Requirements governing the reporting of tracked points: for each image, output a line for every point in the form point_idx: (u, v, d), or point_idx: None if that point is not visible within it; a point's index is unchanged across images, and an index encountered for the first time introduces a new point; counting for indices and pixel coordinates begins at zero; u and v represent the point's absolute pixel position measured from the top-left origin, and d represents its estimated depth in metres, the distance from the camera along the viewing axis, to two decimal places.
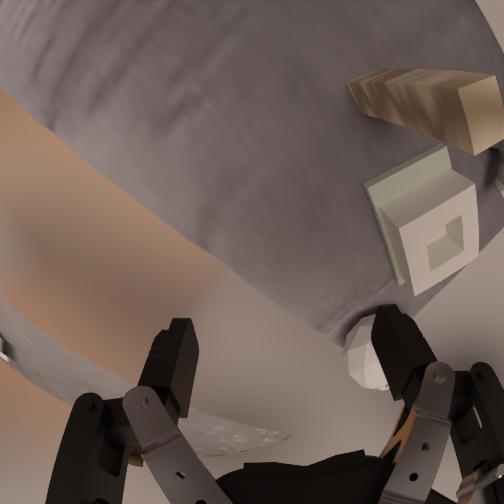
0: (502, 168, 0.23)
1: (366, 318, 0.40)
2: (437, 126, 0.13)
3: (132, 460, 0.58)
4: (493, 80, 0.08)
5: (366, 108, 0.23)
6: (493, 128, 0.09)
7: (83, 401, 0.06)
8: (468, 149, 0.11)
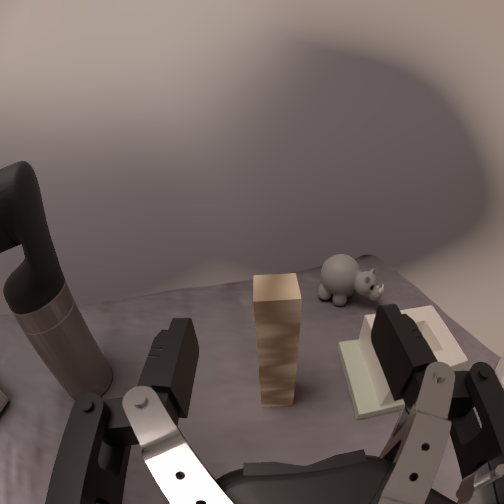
0: (359, 291, 0.44)
1: None
2: (288, 328, 0.24)
3: None
4: (256, 277, 0.26)
5: (286, 397, 0.30)
6: (287, 283, 0.24)
7: (83, 401, 0.06)
8: (298, 303, 0.23)
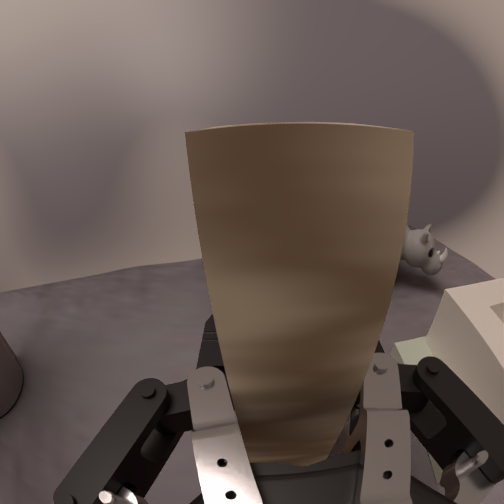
0: (413, 259, 0.25)
1: None
2: (351, 293, 0.05)
3: None
4: None
5: None
6: None
7: (144, 386, 0.07)
8: (401, 155, 0.04)
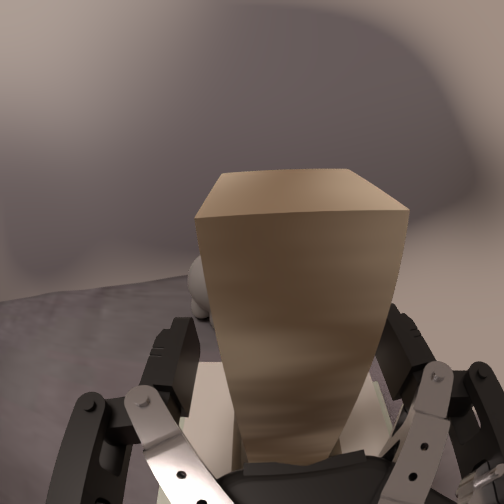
0: None
1: None
2: (341, 344, 0.06)
3: None
4: (229, 175, 0.08)
5: None
6: (331, 180, 0.07)
7: (84, 400, 0.06)
8: (396, 233, 0.05)
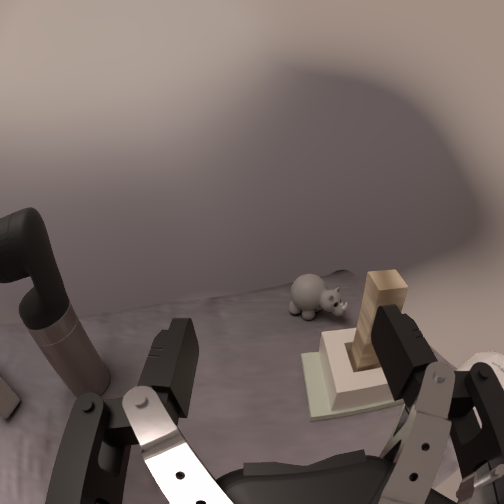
0: (324, 308, 0.50)
1: None
2: None
3: None
4: (370, 273, 0.31)
5: None
6: (393, 276, 0.30)
7: (83, 401, 0.06)
8: (405, 290, 0.28)
